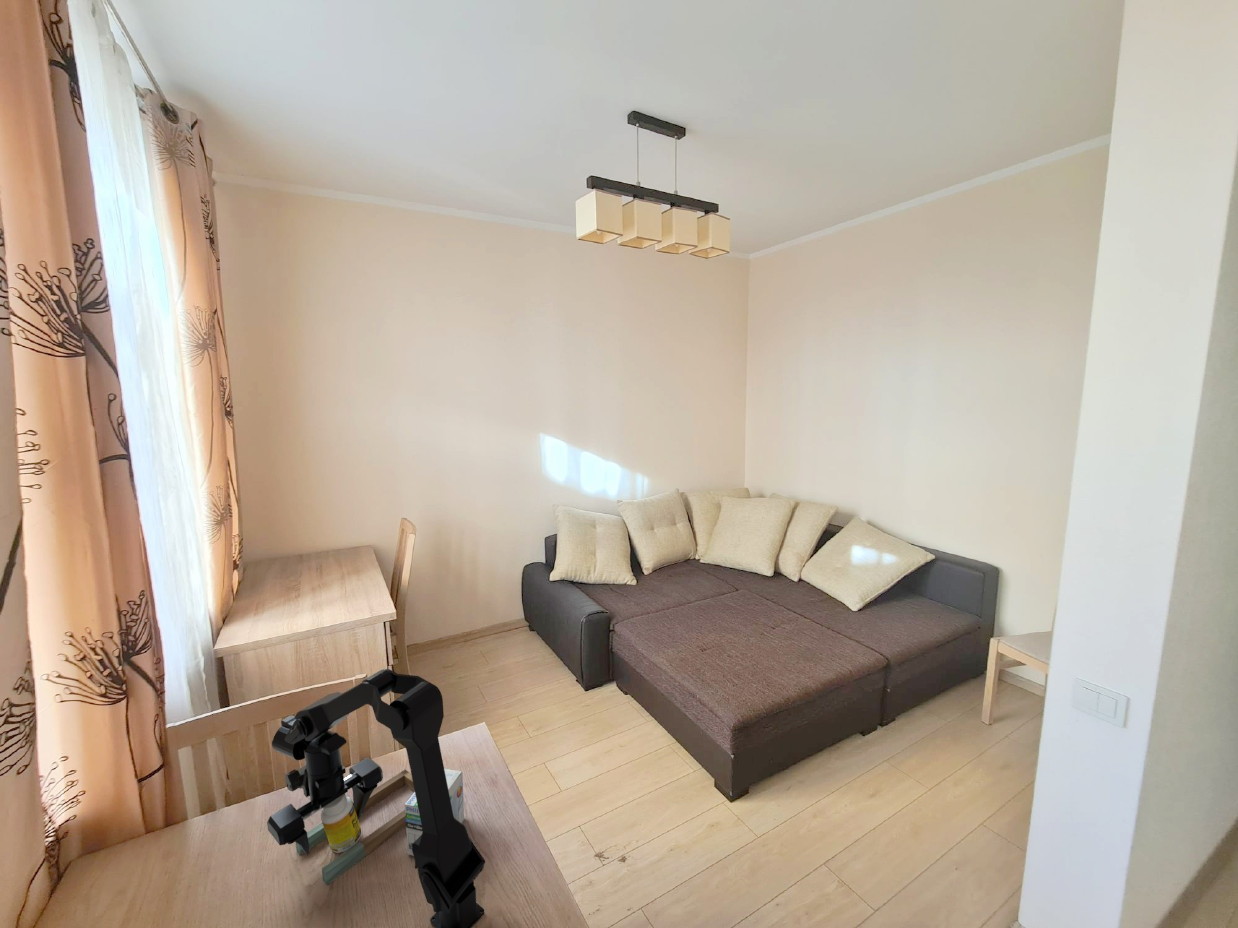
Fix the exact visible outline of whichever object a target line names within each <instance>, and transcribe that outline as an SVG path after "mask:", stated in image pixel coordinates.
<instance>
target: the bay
mask: <svg viewBox="0 0 1238 928" xmlns="http://www.w3.org/2000/svg"><path fill="white" fill-rule="evenodd" d="M403 787H406V788H407V789H409V790H410V791H411V792H413V793H414V792H415V790H414V785H413V780H412V775H411V772H409V771H408V770H407V769H404V770H402V771H400V772H399V773H397V774H396V775H394V776H392V777H391V778H390V779H388V780H385V781H384V782H383V783H381V784H380V785H377V787H376V788H375V789H374V790H373V792H372V794H371V795H370V797H369V799H368V801H367V803H366V805H365V808H364V810H363V812H362V815H363V814H365V813H366V812H367V811H369V810H370V809H371V808H373V807H374V806H377V804H379V803H382V801H384V800H385V799H387V798H388V797H389V796H391V795H393V794H394V793H396V792H397V791H398V790H401V789H402V788H403ZM405 828H406V816H405V809H403V811H401V812H399V813H398V814H396V815H395V816H394V817H392V818H391V819H390V820H388V821H387V822H386V823H384V824H383V825H381V826H380V827H378V828H377V829H376V830H374V831H373V832H371V833H370V834H368V835H367V836H366V837H364V838H363V839H361V840H360V841H358V842H357V843H356V844H355V845H354V846H353V847H352V848H350V849H349V850H347V851H345V852H342V853H341V855H339V856H338V857H336V858H334V859H333V860H332V861H330V862H329V863H328V864H326V865H325V866H324V867H322V868H321V876H322V877H321V878H322V882H323V883H324V884H325V886H328V885H329V884H331V883H332V882H333V881H335V880H336V879H337V878H339V877H340V876H342V875H343V874H344V873H346V872H348V870H349V869H351V868H352V867H354V866H356V864H358V863H359V862H360V861H362V860H363V859H364V858H366V857H367V856H368V855H370V854H371V853H372V852H374V851H375V850H377V849H378V848H379V847H380V846H382V845H384V844H385V843H386V842H388V841H389V840H390V839H392V838H393V837H394V836H395V835H397V834H399V833H400V832H401V831H402V830H403V829H405ZM307 836H308V841H309V847H310V849H312V848H314V847H315V846H317V845H318V844H319V843H321V842H322V841H324V840H325V839H328V838H327V835H326V832H325V830H324V827H323V824H322V822H321V823H319V824H318V825H316V826H315V827H312V829H310V830H308V831H307ZM295 848H296V852H297V854H298V855H299V856H301V855H303V854H305V852H304V851H303V849H302V848H301V846H300V845H299V844H298V843H296V842H295Z"/></svg>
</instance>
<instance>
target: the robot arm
mask: <svg viewBox="0 0 1238 928" xmlns="http://www.w3.org/2000/svg"><path fill="white" fill-rule="evenodd" d="M390 692H391V693H393V694H397V695H398V694H400V695H401V696H399V697H397V698H395V699H394V700H393V701H392V702H390V704H389V703H387V702H385V701H383V700H382V698H383V697H384V696H385V695H387V694H390ZM366 705H368V706H370V707H371V708H372V711H373V713H374V716H375V720H376V721H377V722H378V723H379V724H382V725H383V726H384V727H386V728H387V729H389V730H390V732H391V733H390V734H392V738H393V739H394V740H395V741H396V742H398V743H399V744H400V745H402V746H403V748H404V749H405V750H406V754H407V758H408V765H409V769H410V773H411V775H412V780H413V785H414V790H415V794H416V799H417V804H418V809H419V814H420V819H421V824H422V829H423V832H422V835H421V836H420V837H419V838H418V839H417V840H416V841H415V842H414V843H413V844H412V852H413V855H414V856H413V858H414V869H415V870H417V875H418V878H419V881H420V882H419V883H420V885H421V888H422V890H423V894H424V897H425V900H426V902H427V903H428V904H429V905H431V907H432V909H433V912H434V914H433V915H432V916H431V917H430V919H429V920H430V921H429V922H430V924H431V925H432V926H433V928H472V927H473V926H474V925H475V924H476V923H477V922H478V921H479V920H480V919H481V918H482V917H483V916H484V915H485V909H484V908H483V907H482V906H481V905H480V904H479V903H477V890H476V889H477V887H476V886H475V882H474V881H475V880H476V879H477V877H478V876H479V874H480V873H481V872H482V871H483V870H484V868H485V865H486V860H485V858H484V857H483V855H482V854H481V852H480V851H479V850H478V848H477V846H476V845H475V843H474V842H473V840H472V839H471V838H470V836H469V833H468V830H467V826H466V825H465V824H463V822H462V823H461V822H459V821H458V820H457V819H455V818H454V815H453V811H452V805H451V800H450V795H449V790H448V785H447V780H446V775H445V770H444V769H445V765H444V761H443V760H444V759H443V755H442V752H441V751H442V750H441V745H440V741H439V734H440V730H441V727H442V723H443V721H444V715H445V714H444V700H443V694H442V692H441V690H440V688H439V687H438V686H437V685H436V684H434V683H432V682H430V681H428V680H426V679H424V678H422V677H421V676H419V675H411V674H404V673H397V672H395V671H393V670H391V669H389V668H386V669H385V668H384V669H380V670H378V671H377V672H375V673H373V674H372V675H369V676H368V677H367V678H365V679H364V680H362V682H360V683H358V684H356V685H354V686H353V687H351V688H349V689H347V690H346V691H344V692H339V691H336V692H333V693H329V694H326V695H324V696H323V697H321V698H319V699H318V700H316V701H314V702H313V703H311V704H309V705H307V706H306V707H305V708H303V709H300V710H298V711H297V712H296V713H295V715H291V714H290V715H288V716H287V717H285V718H284V719H282V720H281V721H280V722H281V723H280V724H281V726H280V727H279V728H278V729H277V731H276V732H275V734H274V736H273V739H272V741H271V746H272V749H273V751H275V752H277V753H279V754H282V755H284V756H286V757H289V758H291V759H293V760H295V761H301V760H304V762H305V765H304V766H301V767H300V768H299V769H295V768H294V769H292V770H291V771H288V772H287V773H284V774H285V775H284V777H285V778H284V780H285V785H286V788H287V790H288V791H290V792H294V791H296V790H298V789H302V790H303V795H304V796H305V798H308V797H309V800H310V801H309V802H307V803H305V804H304V805H302V806H301V807H299V808H297V809H296V808H295V806H294V805H293V804H292V803H289V804H287V805H286V806H284V807H283V808H280V809H279V810H278V811H277V812H274V813H273V814H271V815H270V816H269V817H268V820H267V822H266V825H267V831H268V832H269V833H270V835H271V837H273V839H274V840H275V842H277V844H278V845H279V846H285V845H286V844H288V845H292V844H294V843H295V844H296V843H298V844H299V845H300V846H301V848H302V849H303V851H304V854H306V856H308V855H310V852H311V851H310V850H311V848H310V847H309V841H308V836H307V832H308V831H307V830H306V829H305V828H306V825H305V820H307V819H308V818H309V817H312V816H313V815H314V814H316V813H318V812H319V811H322V810H323V808H324V807H325V806H327V805H328V804H330V803H331V802H333V801H335V800H336V799H337V798H339V797H340V796H342V795H343V794H345V795H346V793H348V792H349V790H350V789H352V801H353V804H354V808H355V811H356V814H357V817H358V820H359V821H360V819H361V817H362V815H363V814H362V812H363V810H364V808H365V805H366V803H367V801H368V799H369V797H370V795H371V794H372V792H373V790H374V789H375V788H377V787H378V784H379V783H380V782H382V781H383V779H384V775H383V773H384V772H383V769H382V767H381V765H379V764H378V763H377V762H375V761H374V760H373V759H372V758H370V757H368V756H367V757H365V758H363V759H362V760H360V761H358V762H357V763H356V764H355V763H354V764H353V765H352V766H350V767H349V769H348V773H349V775H348V776H347V777H345V776H344V774H346V773H347V772H346V770H347V769H346V767H345V766H344V765H343V760H342V759H343V758H342V752H341V748H342V747H343V746H345V745H346V744H347V743H348V742H347V739H346V738H345V737H344V736H342V735H340V734H339V733H338V732H335V731H332V730H331V729H333V728H334V727H335V726H337V725H338V724H341V722H344V720H346V718H347V717H348V716H349V715H350V714H351V713H353V712H355V711H357V710H359V709H360V708H363V707H364V706H366Z"/></svg>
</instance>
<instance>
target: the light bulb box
mask: <svg viewBox="0 0 1238 928" xmlns="http://www.w3.org/2000/svg"><path fill="white" fill-rule="evenodd" d="M444 770H445V775H446V780H447V785H448V790H449V795H450V800H451V805H452V811H453V815H454V818H455V819H457V820H458V821H459V822H461V823H462V824H463V822H464V820H465V807H464V806H465V805H464V804H465V803H464V802H465V801H464V781H463V779H464V777H463V771H461V770H456V769H455V770H454V769H448V768H444ZM404 810H405V816H406V827H405V828H406V829H405V831H406V843H407V846H406V847H407V855H408V856H412V857H414V855H413V852H412V844H413V843H414V842H415V841H416V840H417V839H418V838H419V837H420V836H421V835H422V832H423V829H422V824H421V819H420V814H419V809H418V804H417V799H416V794H415V792H413V793H412V794H411V796H410V797H409V798H408V800H407V801H406V802H405V803H404Z"/></svg>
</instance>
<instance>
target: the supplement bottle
mask: <svg viewBox="0 0 1238 928" xmlns="http://www.w3.org/2000/svg"><path fill="white" fill-rule="evenodd" d="M320 820H321V823H322V824H323V827H324V830H325V832H326V835H327V838H326V839H327V840H328V844H329V847H330V849H331V851H332V852H333V853H337V854H340V853H341V854H342V853H344V852H346V851H347V850H349V849H350V848H352V847H353V846H354V845H356V844H357V843H359V840H360V838H361V836H362V827H361V824H360V822H359V821H360V819H359V820H358V817H357V814H356V811H355V808H354V804H353V798H352V797H349V796H347V795H346V793H345V794H343V795H342V796H340V797H339V798H337V799H336V800H335V801H333V802H331V803H330V804H328V805H327V806H325V807H324V808H322V810H321V813H320Z"/></svg>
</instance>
